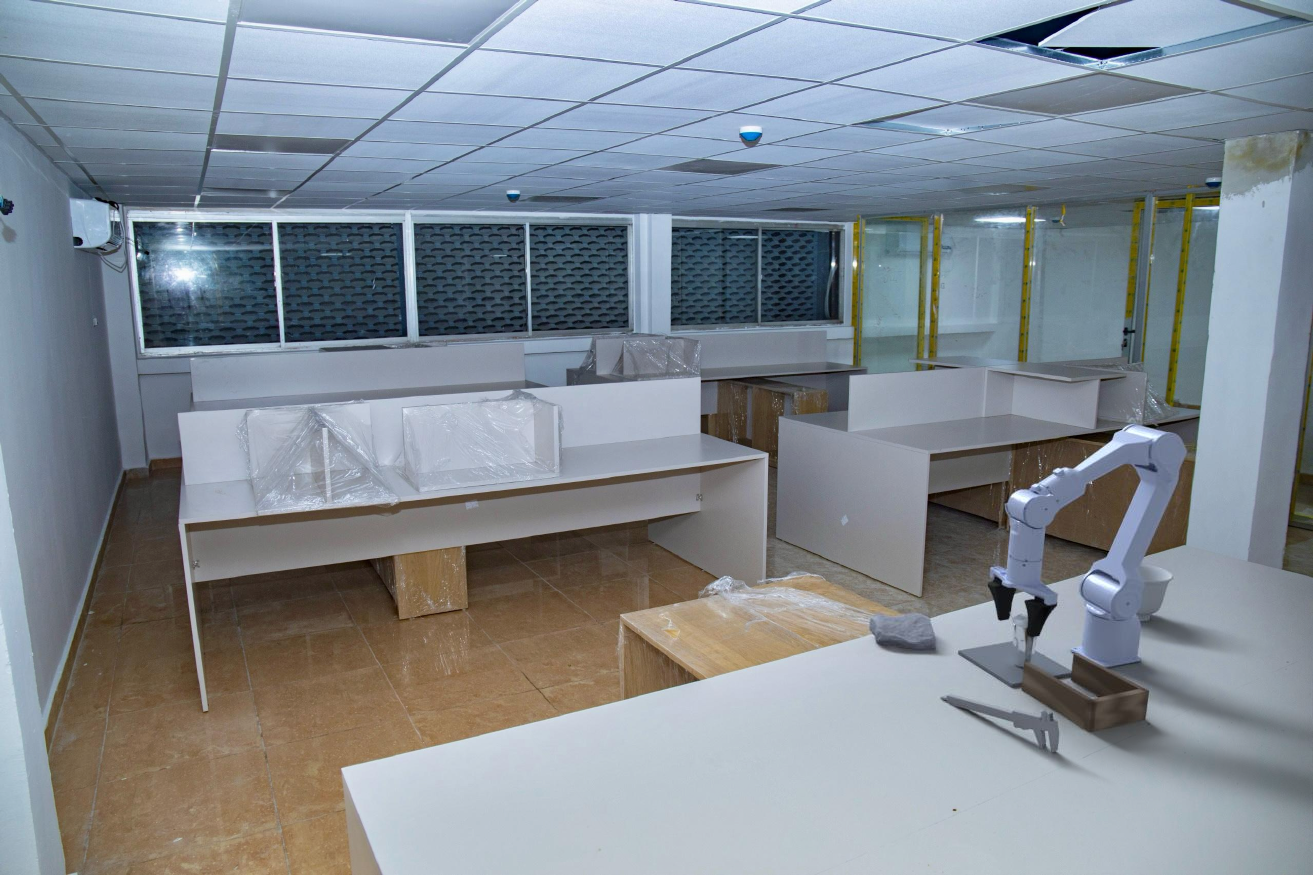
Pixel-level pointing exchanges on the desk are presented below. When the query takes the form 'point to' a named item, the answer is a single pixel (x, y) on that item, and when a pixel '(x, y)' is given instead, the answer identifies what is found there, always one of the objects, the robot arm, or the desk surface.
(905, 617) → the stone block
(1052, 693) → the open box
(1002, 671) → the mat
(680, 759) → the desk surface
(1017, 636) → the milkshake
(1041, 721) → the caliper
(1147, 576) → the teacup
